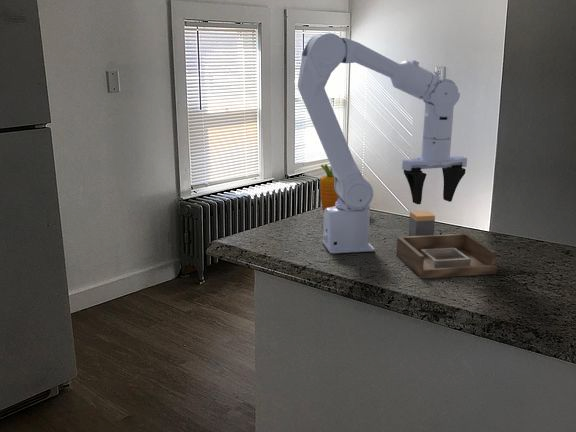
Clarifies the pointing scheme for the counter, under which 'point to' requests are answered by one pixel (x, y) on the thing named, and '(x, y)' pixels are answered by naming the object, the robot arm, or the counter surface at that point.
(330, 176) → the carrot
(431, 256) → the frame
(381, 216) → the counter surface
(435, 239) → the walnut box
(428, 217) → the two-tone rectangular block
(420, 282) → the counter surface
